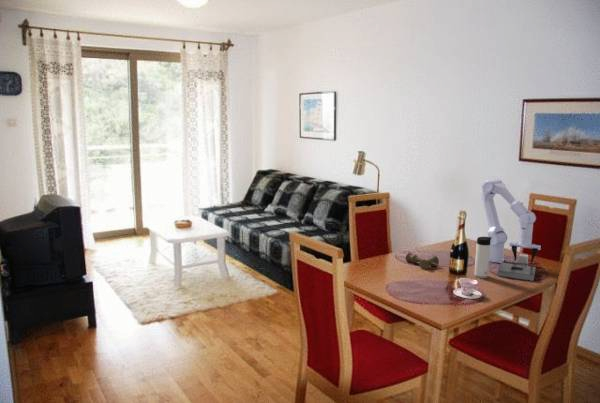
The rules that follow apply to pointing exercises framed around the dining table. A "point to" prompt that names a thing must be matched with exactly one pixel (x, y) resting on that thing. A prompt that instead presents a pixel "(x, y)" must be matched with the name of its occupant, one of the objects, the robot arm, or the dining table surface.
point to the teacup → (467, 289)
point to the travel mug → (482, 257)
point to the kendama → (423, 261)
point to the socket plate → (516, 271)
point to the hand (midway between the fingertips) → (523, 261)
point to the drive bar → (523, 259)
